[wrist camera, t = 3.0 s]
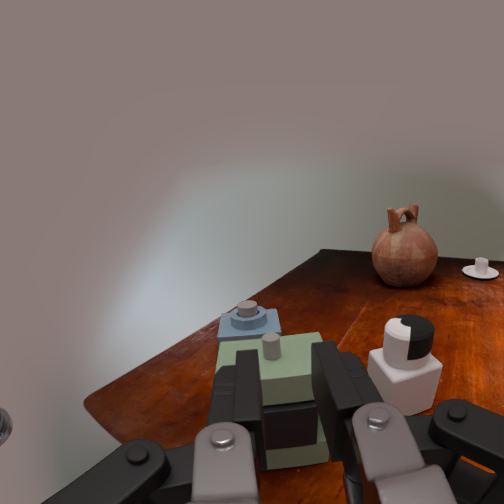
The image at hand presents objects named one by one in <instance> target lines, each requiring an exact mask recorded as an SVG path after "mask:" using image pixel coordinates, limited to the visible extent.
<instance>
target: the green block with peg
mask: <svg viewBox="0 0 504 504" xmlns="http://www.w3.org/2000/svg"><path fill="white" fill-rule="evenodd" d="M321 341H323V340H322V338H321V336H320V334H319V332H314V333H307V334H298V335H290V336H281V337H280V336H279V334H277V333H267V334H264V335H263V336H262V338H261V339H250V340H238V341H225V342H220V347H219V353H218V359H217V366H216V372H217V371H218V370H219V369H220V368H221V366H224V365H235V362H236V351H237V350H249V349H258V357H259V366H260V375H261V385H262V396H263V406H265V405H275V404H284V403H293V402H301V401H308V400H315V399H314V396H313V391H312V383H311V344H312V343H314V342H321ZM216 372H215V374H216ZM266 456H267V470H269V469H280V468H289V467H297V466H304V465H311V464H318V463H324V462H328V459H329V449H328V446H327V442H326V439H325V435H324V431H323V428H322V424H321V421H320V417H319V413H318V431H317V444H315V445H308V446H301V447H294V448H285V449H276V450H266Z"/></svg>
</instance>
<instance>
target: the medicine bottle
mask: <svg viewBox="0 0 504 504" xmlns="http://www.w3.org/2000/svg"><path fill="white" fill-rule="evenodd" d="M434 331H435V328H434V326H433V324H432V323H431V321H429V320H428V319H426V318H424V317H421V316H418V315H400V316H396V317H394V318H392V319H390V320H389V321H388V322H387V323H386V325H385V333H384V343H383V348H380V349H376V350H372V351H370V352H369V360H368V369H367V372H368V374H369V376H370V377H371V379H372V381H373V383H374V384H375V386H376V388H377V390H378V391H379V393H380V395H381V397H382V399H383V400H384V402H385V403H388V404H391V405H394V406H396V407H397V408H398V409H400V411H401V412H402V413H403V415H407V416H411V415H414V414H417V413H419V412H422V411H425V410H427V409H430V408H431V407H432V403H433V400H434V397H435V393H436V390H437V386H438V382H439V378H440V374H441V370H442V364H441V363H440V362H439V361H438V360H437V359H436V358H435V357H434V356H433V355H431V354H430V353H431V348H432V343H433V337H434Z"/></svg>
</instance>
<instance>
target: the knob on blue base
mask: <svg viewBox="0 0 504 504" xmlns="http://www.w3.org/2000/svg"><path fill="white" fill-rule="evenodd" d="M257 309H258V314H257V315H256V316H253V317H247V318H244V317H239V316H238V309H237V308H236V309H234V310H233V311H231V313H225V314H222V315H221V320H220V325H219V331H218V336H217V339H218V345H219V347H220V342H225V341H238V340H250V339H261V338H262V336H263V335H264V334H267V333H277V334H279V336H280V337H281V336H282V333H281V328H280V323H279V318H278V314H277V309H269V310H266V309H264V308H263V307H261V306H257Z"/></svg>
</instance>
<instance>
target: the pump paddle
mask: <svg viewBox="0 0 504 504" xmlns="http://www.w3.org/2000/svg"><path fill="white" fill-rule="evenodd" d="M263 410H264V425H265V441H266V450H276V449H285V448H294V447H301V446H308V445H315V444H317V431H318V410H317V406H316V403H315V400H308V401H301V402H293V403H284V404H275V405H265V406H263Z"/></svg>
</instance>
